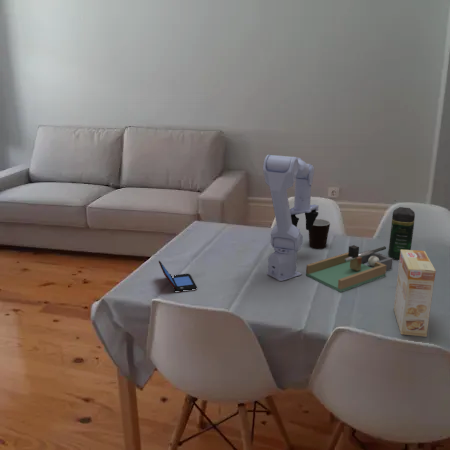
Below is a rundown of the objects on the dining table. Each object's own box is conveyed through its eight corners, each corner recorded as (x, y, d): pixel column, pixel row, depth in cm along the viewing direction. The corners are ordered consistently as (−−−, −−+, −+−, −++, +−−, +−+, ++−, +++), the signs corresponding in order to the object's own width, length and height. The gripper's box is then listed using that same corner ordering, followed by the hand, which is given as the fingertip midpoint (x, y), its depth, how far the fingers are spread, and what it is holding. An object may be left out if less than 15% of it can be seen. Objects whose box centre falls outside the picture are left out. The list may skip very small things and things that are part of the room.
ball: (373, 261, 181) (381, 255, 183) (364, 258, 185) (372, 252, 186) (375, 270, 183) (382, 264, 185) (366, 267, 187) (373, 260, 188)
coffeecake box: (427, 337, 139) (436, 270, 133) (400, 335, 140) (407, 269, 134) (417, 311, 153) (425, 250, 147) (393, 309, 154) (399, 248, 148)
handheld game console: (198, 291, 168) (197, 270, 165) (165, 295, 165) (164, 273, 162) (189, 275, 179) (189, 256, 177) (158, 279, 176) (157, 259, 174)
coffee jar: (409, 262, 189) (415, 213, 183) (387, 259, 192) (392, 211, 186) (410, 253, 198) (416, 206, 192) (389, 250, 200) (393, 204, 194)
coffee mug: (322, 251, 200) (323, 227, 196) (302, 246, 204) (303, 223, 201) (335, 243, 208) (337, 219, 205) (316, 238, 213) (317, 215, 210)
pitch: (340, 292, 166) (341, 280, 164) (306, 275, 178) (306, 264, 177) (398, 271, 181) (399, 260, 180) (362, 257, 194) (363, 247, 192)
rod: (348, 273, 176) (350, 250, 173) (341, 270, 178) (343, 247, 176) (387, 260, 187) (389, 238, 184) (379, 258, 189) (382, 236, 186)
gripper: (294, 202, 179) (293, 238, 183) (325, 195, 186) (323, 231, 191) (281, 197, 184) (280, 233, 188) (311, 191, 192) (309, 226, 196)
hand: (301, 232), depth 190 cm, fingers open, 7 cm apart
